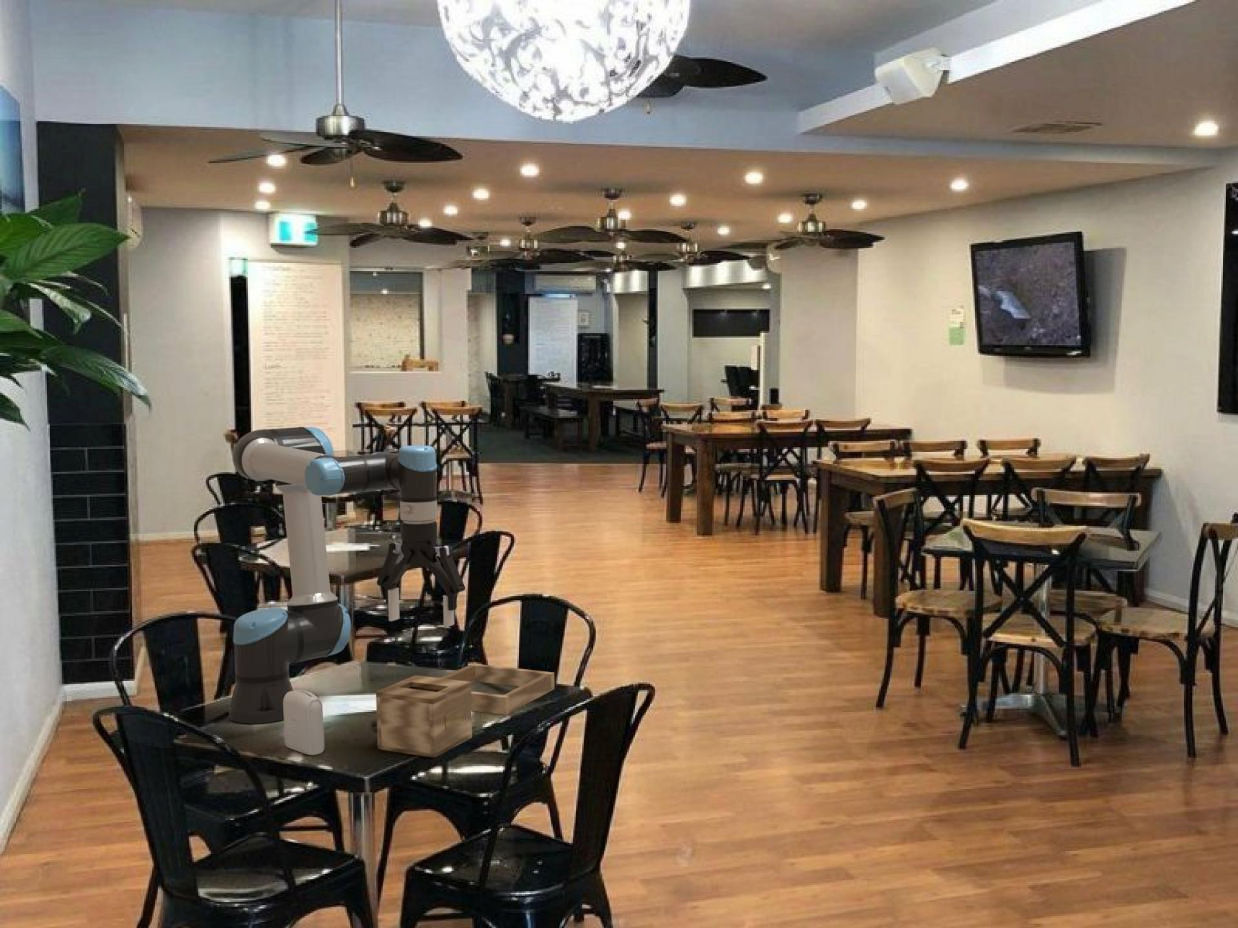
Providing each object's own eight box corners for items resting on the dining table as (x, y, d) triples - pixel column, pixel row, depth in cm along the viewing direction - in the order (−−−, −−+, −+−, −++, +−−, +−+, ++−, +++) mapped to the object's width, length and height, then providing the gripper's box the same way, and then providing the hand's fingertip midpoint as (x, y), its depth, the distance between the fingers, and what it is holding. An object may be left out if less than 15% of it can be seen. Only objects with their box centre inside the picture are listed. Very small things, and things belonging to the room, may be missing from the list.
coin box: (377, 748, 245) (375, 691, 244) (417, 729, 258) (415, 675, 257) (435, 757, 239) (433, 699, 238) (473, 737, 252) (471, 681, 251)
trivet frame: (420, 703, 277) (419, 686, 277) (473, 679, 298) (472, 663, 298) (505, 714, 268) (505, 697, 267) (554, 688, 288) (554, 672, 288)
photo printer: (282, 746, 248) (279, 688, 247) (300, 741, 251) (297, 684, 250) (309, 757, 241) (307, 697, 240) (327, 752, 244) (325, 693, 243)
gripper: (358, 520, 247) (361, 620, 249) (460, 527, 236) (462, 632, 238) (380, 515, 253) (382, 613, 255) (480, 521, 243) (482, 624, 245)
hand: (421, 622), depth 247 cm, fingers open, 13 cm apart
